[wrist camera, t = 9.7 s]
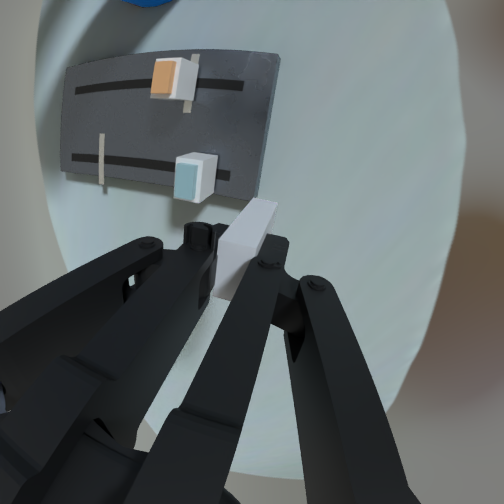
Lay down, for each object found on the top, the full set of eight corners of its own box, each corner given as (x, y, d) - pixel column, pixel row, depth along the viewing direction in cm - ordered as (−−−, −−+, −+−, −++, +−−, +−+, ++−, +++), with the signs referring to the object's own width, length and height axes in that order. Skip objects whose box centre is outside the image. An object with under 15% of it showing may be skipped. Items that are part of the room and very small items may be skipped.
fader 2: (193, 152, 24) (172, 158, 20) (218, 155, 24) (199, 162, 20) (190, 188, 26) (169, 200, 22) (213, 192, 25) (195, 205, 22)
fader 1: (175, 65, 20) (151, 57, 17) (198, 64, 20) (177, 55, 16) (170, 99, 22) (145, 98, 18) (193, 100, 22) (171, 98, 18)
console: (77, 68, 24) (66, 67, 22) (280, 59, 21) (277, 53, 19) (71, 174, 31) (60, 178, 29) (255, 205, 28) (251, 211, 26)
